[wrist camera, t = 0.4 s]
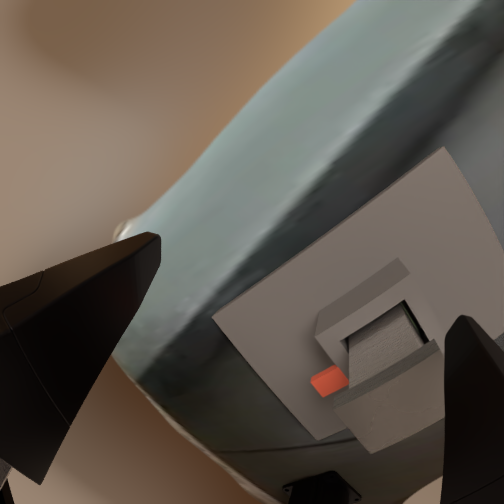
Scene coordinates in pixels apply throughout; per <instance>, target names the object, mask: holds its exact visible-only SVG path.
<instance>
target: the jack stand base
mask: <svg viewBox="0 0 504 504" xmlns="http://www.w3.org/2000/svg"><path fill="white" fill-rule="evenodd" d="M400 302H402V303H403V305H404V306H405V308H406V310H407V311H408V313H409V315H410V316H411V318H412V319H413V321H414V323H415V324H416V326H417V328H418V329H419V331H420V333H421V336H422V340H423V342H424V344H426V343H428V342H429V341H431V340H432V339H435V341H436V343H437V344H438V346H439V348H440V350H441V352H442V354H443V355H444V340H445V336H446V333H447V332H448V330H449V329H450V327H451V326H452V325H453V323H454V322H455V320H456V319H457V318H458V316H460V315H467V316H471V317H472V318H473V319H474V320H475V321H476V322H477V323H478V324H479V325H480V326H481V327H482V328H483V329H484V330H485V332H486V333H487V334H488V335H489V336H490V337H491V338H492V339H493V340H495V339H496V338H497V337H498V336H500V335H501V334H502V333H503V332H504V252H503V249H502V247H501V245H500V243H499V241H498V239H497V237H496V234H495V232H494V230H493V228H492V226H491V224H490V222H489V221H488V219H487V217H486V215H485V213H484V211H483V209H482V207H481V205H480V204H479V202H478V200H477V198H476V197H475V195H474V193H473V191H472V190H471V188H470V186H469V185H468V183H467V181H466V180H465V178H464V176H463V175H462V173H461V171H460V170H459V168H458V167H457V165H456V164H455V162H454V161H453V159H452V157H451V156H450V154H449V153H448V151H447V150H446V149H445V147H444V146H443V147H440V148H438V149H436V150H435V151H434V152H432V153H431V154H430V155H429V156H427V157H426V158H425V159H423V160H422V161H421V162H420V163H418V164H417V165H416V166H414V167H413V168H412V169H410V170H409V171H408V172H407V173H405V174H404V175H403V176H401V177H400V178H399V179H397V180H396V181H395V182H394V183H392V184H391V185H390V186H388V187H387V188H386V189H384V190H383V191H382V192H380V193H379V194H378V195H376V196H375V197H374V198H372V199H371V200H370V201H368V202H367V203H366V204H364V205H363V206H362V207H360V208H359V209H358V210H356V211H355V212H354V213H352V214H351V215H350V216H348V217H347V218H346V219H344V220H343V221H342V222H340V223H339V224H338V225H336V226H335V227H334V228H332V229H331V230H330V231H328V232H327V233H325V234H324V235H323V236H321V237H320V238H319V239H317V240H316V241H315V242H313V243H312V244H310V245H309V246H308V247H306V248H305V249H304V250H302V251H301V252H299V253H298V254H297V255H295V256H294V257H292V258H291V259H290V260H288V261H287V262H286V263H284V264H283V265H281V266H280V267H279V268H277V269H276V270H274V271H273V272H272V273H270V274H269V275H267V276H266V277H265V278H263V279H262V280H260V281H259V282H258V283H256V284H255V285H253V286H252V287H250V288H249V289H248V290H246V291H245V292H243V293H242V294H241V295H239V296H238V297H236V298H235V299H233V300H232V301H231V302H229V303H228V304H226V305H225V306H223V307H222V308H221V309H219V310H218V311H217V312H216V313H215V314H214V315H213V316H212V318H213V319H214V321H215V322H216V323H217V325H218V326H219V327H220V328H221V330H222V331H223V332H224V333H225V335H226V336H227V337H228V338H229V340H230V341H231V342H232V343H233V345H234V346H235V347H236V348H237V349H238V351H239V352H240V353H241V354H242V356H243V357H244V358H245V359H246V360H247V362H248V363H249V364H250V365H251V366H252V368H253V369H254V370H255V371H256V372H257V374H258V375H259V376H260V377H261V378H262V379H263V381H264V382H265V383H266V384H267V385H268V386H269V388H270V389H271V390H272V391H273V392H274V393H275V395H276V396H277V397H278V398H279V399H280V400H281V401H282V402H283V404H284V405H285V406H286V407H287V408H288V409H289V410H290V412H291V413H292V414H293V415H294V416H295V417H296V418H297V419H298V420H299V421H300V423H301V424H302V425H303V426H304V427H305V428H306V429H307V430H308V431H309V432H310V433H311V435H312V436H313V437H314V438H315V439H316V440H317V441H318V440H320V439H323V438H325V437H328V436H330V435H332V434H335V433H337V432H339V431H342V430H344V429H346V428H348V427H347V426H346V425H345V424H344V422H343V421H342V420H341V419H340V418H339V416H338V415H337V414H336V413H335V412H334V410H333V408H334V397H335V396H337V395H339V394H340V393H342V392H344V391H346V390H348V389H349V335H350V334H352V333H354V332H355V331H357V330H358V329H360V328H362V327H363V326H365V325H366V324H368V323H369V322H371V321H373V320H374V319H376V318H377V317H379V316H380V315H382V314H383V313H385V312H386V311H388V310H389V309H391V308H392V307H394V306H395V305H397V304H398V303H400Z"/></svg>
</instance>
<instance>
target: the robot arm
mask: <svg viewBox="0 0 504 504" xmlns="http://www.w3.org/2000/svg"><path fill="white" fill-rule="evenodd" d="M160 263H161V237H160V236H159V235H158V234H155V233H151V232H144V233H141V234H138V235H135V236H133V237H130V238H127V239H124V240H121V241H119V242H116V243H113V244H110V245H108V246H105V247H102V248H100V249H97V250H94V251H92V252H89V253H86V254H84V255H81V256H78V257H76V258H73V259H70V260H68V261H65V262H63V263H60V264H58V265H55V266H53V267H50V268H48V269H45V271H40V272H38V273H35V274H33V275H30V276H28V277H25V278H23V279H20V280H18V281H15V282H12V283H9V284H6V285H3V286H1V287H0V504H14V501H13V497H12V494H11V490H10V487H9V483H8V479H7V477H8V475H9V473H10V472H11V470H12V468H15V469H16V470H17V471H19V472H20V473H22V474H23V475H25V476H26V477H28V478H29V479H31V480H32V481H34V482H35V483H37V484H38V485H41V483H42V482H43V480H44V478H45V475H46V474H47V472H48V469H49V467H50V465H51V463H52V461H53V459H54V457H55V455H56V453H57V451H58V450H59V448H60V446H61V443H62V441H63V440H64V438H65V436H66V434H67V432H68V430H69V428H70V427H69V426H71V424H72V422H73V420H74V419H75V417H76V415H77V413H78V411H79V409H80V407H81V405H82V404H83V402H84V400H85V398H86V397H87V395H88V393H89V391H90V390H91V388H92V386H93V384H94V383H95V381H96V379H97V377H98V375H99V374H100V372H101V370H102V368H103V367H104V365H105V364H106V362H107V360H108V358H109V357H110V355H111V353H112V352H113V350H114V348H115V347H116V345H117V343H118V342H119V340H120V338H121V337H122V335H123V333H124V332H125V330H126V329H127V327H128V325H129V324H130V322H131V320H132V319H133V317H134V316H135V314H136V312H137V311H138V309H139V307H140V305H141V303H142V301H143V299H144V297H145V295H146V293H147V291H148V289H149V287H150V285H151V282H152V280H153V278H154V276H155V274H156V272H157V270H158V268H159V266H160ZM444 405H445V443H444V465H443V479H442V491H441V500H440V504H504V352H503V351H502V349H501V348H500V347H499V346H498V345H497V344H496V343H495V342H494V340H493V339H492V338H491V337H490V336H489V335H488V334H487V333H486V332H485V330H484V329H483V328H482V327H481V326H480V325H479V324H478V323H477V322H476V321H475V320H474V319H473V318H472V317H471V316H467V315H460V316H458V318H457V319H456V320H455V322H454V323H453V325H452V326H451V327H450V329H449V330H448V332H447V333H446V336H445V340H444ZM282 490H283V492H285V493H286V494H287V495H288V496H290V499H289V503H288V504H353V503H356V502H359V501H361V495H360V494H359V493H357V492H356V491H355V490H354V489H353V488H352V487H351V486H350V485H349V484H348V483H347V482H346V481H345V480H344V479H343V478H342V477H341V476H340V475H339V474H338V473H337V472H335V471H330V472H327V473H324V474H321V475H318V476H315V477H312V478H309V479H306V480H302V481H299V482H295V483H292V484H288V485H285V486H283V489H282Z"/></svg>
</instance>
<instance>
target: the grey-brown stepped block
mask: <svg viewBox="0 0 504 504" xmlns="http://www.w3.org/2000/svg"><path fill="white" fill-rule="evenodd" d="M333 410H334V412H335V413H336V414H337V415H338V416H339V418H340V419H341V420H342V421H343V422H344V424H345V425H346V426H347V427H348V428H349V429H350V431H351V432H352V433H353V434H354V435H355V437H356V438H357V439H358V440H359V441H360V442H361V444H362V445H363V446H364V447H365V448H366V449H367V450H368V452H369V453H370V454H372V453H375V452H377V451H379V450H381V449H384V448H386V447H388V446H390V445H392V444H394V443H397V442H399V441H401V440H403V439H405V438H407V437H409V436H411V435H413V434H415V433H417V432H418V431H420V430H422V429H424V428H426V427H428V426H430V425H431V424H433V423H435V422H437V421H439V420H440V419H442V418H444V417H445V405H444V355H443V354H442V352H441V350H440V348H439V346H438V344H437V343H436V341H435V339H432V340H431V341H429V342H428V343H426V344H424V342H423V340H422V336H421V333H420V331H419V329H418V328H417V326H416V324H415V323H414V321H413V319H412V318H411V316H410V315H409V313H408V311H407V310H406V308H405V306H404V305H403V303H402V302H400V303H398V304H397V305H395V306H394V307H392V308H391V309H389V310H388V311H386V312H385V313H383V314H382V315H380V316H379V317H377V318H376V319H374V320H373V321H371V322H369V323H368V324H366V325H365V326H363V327H362V328H360V329H358V330H357V331H355V332H354V333H352V334H350V335H349V389H348V390H346V391H344V392H342V393H340V394H339V395H337V396H335V397H334V408H333Z"/></svg>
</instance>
